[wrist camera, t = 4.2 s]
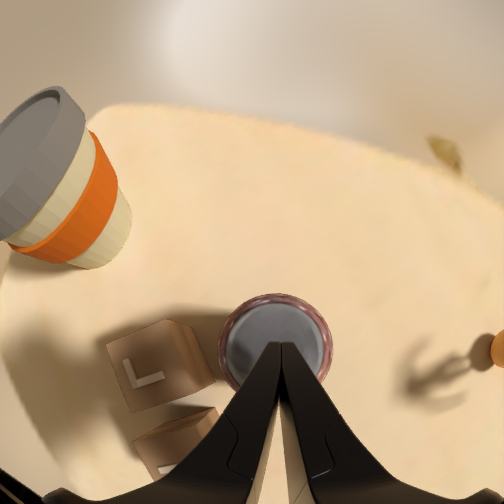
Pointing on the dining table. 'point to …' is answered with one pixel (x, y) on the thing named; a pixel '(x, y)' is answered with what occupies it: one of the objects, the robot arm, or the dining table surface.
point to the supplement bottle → (272, 335)
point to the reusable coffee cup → (59, 185)
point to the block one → (173, 441)
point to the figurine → (498, 349)
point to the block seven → (159, 364)
